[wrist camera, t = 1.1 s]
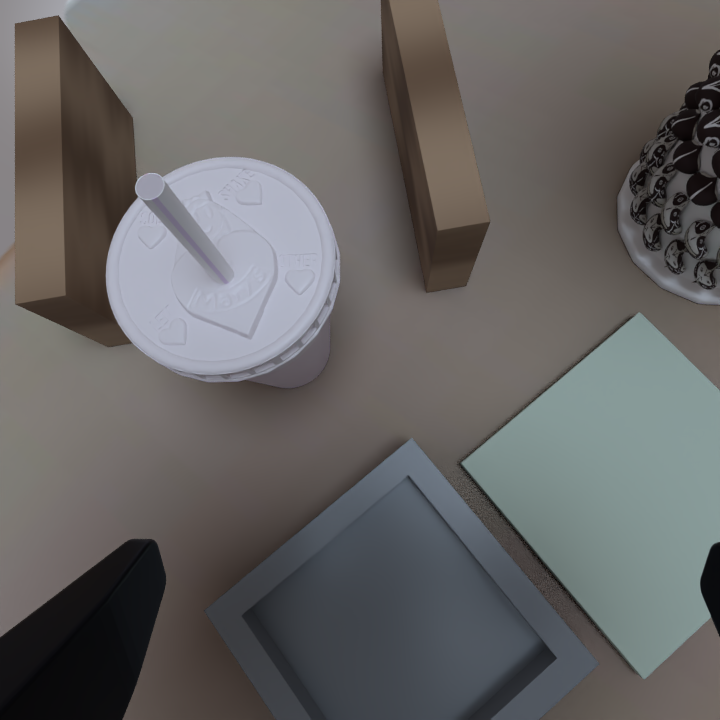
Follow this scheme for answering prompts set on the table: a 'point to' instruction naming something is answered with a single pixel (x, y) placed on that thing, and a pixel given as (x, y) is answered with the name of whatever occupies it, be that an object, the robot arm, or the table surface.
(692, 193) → the decorative candle
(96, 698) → the robot arm
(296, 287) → the smoothie
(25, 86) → the lane
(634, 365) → the mat
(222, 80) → the table surface
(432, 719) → the tray
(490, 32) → the table surface
